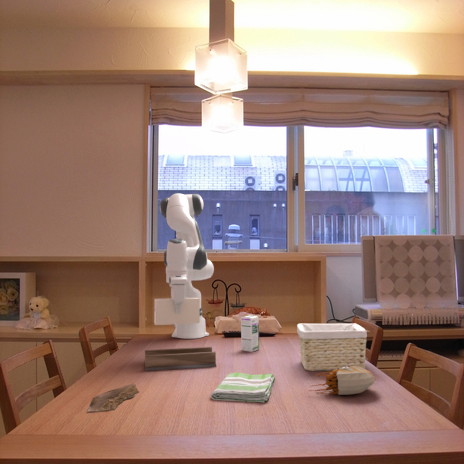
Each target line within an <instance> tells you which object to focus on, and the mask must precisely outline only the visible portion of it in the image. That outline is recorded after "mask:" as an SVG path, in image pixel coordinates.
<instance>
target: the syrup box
mask: <svg viewBox="0 0 464 464" xmlns="http://www.w3.org/2000/svg"><path fill="white" fill-rule="evenodd" d="M259 319H260V317H259V316H257V315H246V316H242V317H240V335H241V337H240V339H241V341H240V342H241V345H240V346H241V351H244V352H250V353H251V352H252V353H253V352H256V351H259V350H260V327H259V326H260V324H259V323H260V322H259V321H260V320H259Z"/></svg>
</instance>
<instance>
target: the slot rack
mask: <svg viewBox="0 0 464 464" xmlns="http://www.w3.org/2000/svg"><path fill="white" fill-rule="evenodd" d="M216 354H217V353H216V351H213V347H212V346H201V347H200V346H197V347H181V348H180V347H177V348H164V349H161V348H160V349H145V350H144V371H145V372H151V371H153V372H154V371H169V370H181V369H183V370H186V369H198V368H199V369H200V368H212V367H213V368H215V367H216V368H217V363H216V361H217V359H216V356H217V355H216Z"/></svg>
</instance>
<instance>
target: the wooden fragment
mask: <svg viewBox="0 0 464 464" xmlns="http://www.w3.org/2000/svg"><path fill="white" fill-rule="evenodd" d="M137 393H140V391H139V390H138V388H137V387H136V384H135V383H130V384H127V385H124V386H121V387H118V388H114V389H110V390H108V391H106V392H103V393H101V394H98V395H95V397H93V398H92V400H91V403H90V404H89V406H88V410H87V412H86V413H87V414H91V413H96V414H97V413H103V412H111V411H115V410H116V409H117V407H118V406H119V405H121V404H122V403H123V402H124V401H126V400H129V399H132V398H133V397H135V395H136V394H137Z"/></svg>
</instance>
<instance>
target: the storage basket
mask: <svg viewBox="0 0 464 464" xmlns="http://www.w3.org/2000/svg"><path fill="white" fill-rule="evenodd" d="M296 327H297V330H296V332H297V334H298V341H299V342H298V343H299V351H300V362H301V364H302V367H303V368H304V370H305V371H310V372H311V371H312V372H315V371H320V372H321V371H322V372H325V371H326V372H331V371H333V370H335V369H337V368H341V367H344V366H348V365H349V366H359V367H362V368H364V369H366V351H367V350H366V347H367V337H368V335H367V334H368V331H367V330H366V329H365V327H362V326H361V325H359V324H358V323H356V322H355V323H304V322H303V323H302V322H301V323H298V324H297V325H296Z"/></svg>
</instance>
